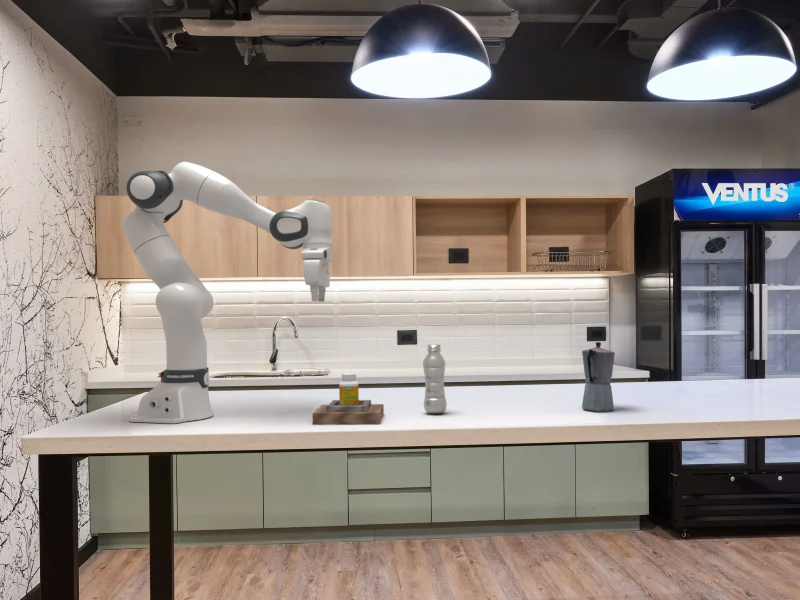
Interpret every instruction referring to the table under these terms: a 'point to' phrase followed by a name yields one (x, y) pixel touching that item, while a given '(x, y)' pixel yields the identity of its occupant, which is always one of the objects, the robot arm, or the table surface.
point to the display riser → (349, 413)
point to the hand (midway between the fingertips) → (318, 301)
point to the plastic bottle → (434, 381)
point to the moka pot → (598, 379)
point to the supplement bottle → (349, 390)
